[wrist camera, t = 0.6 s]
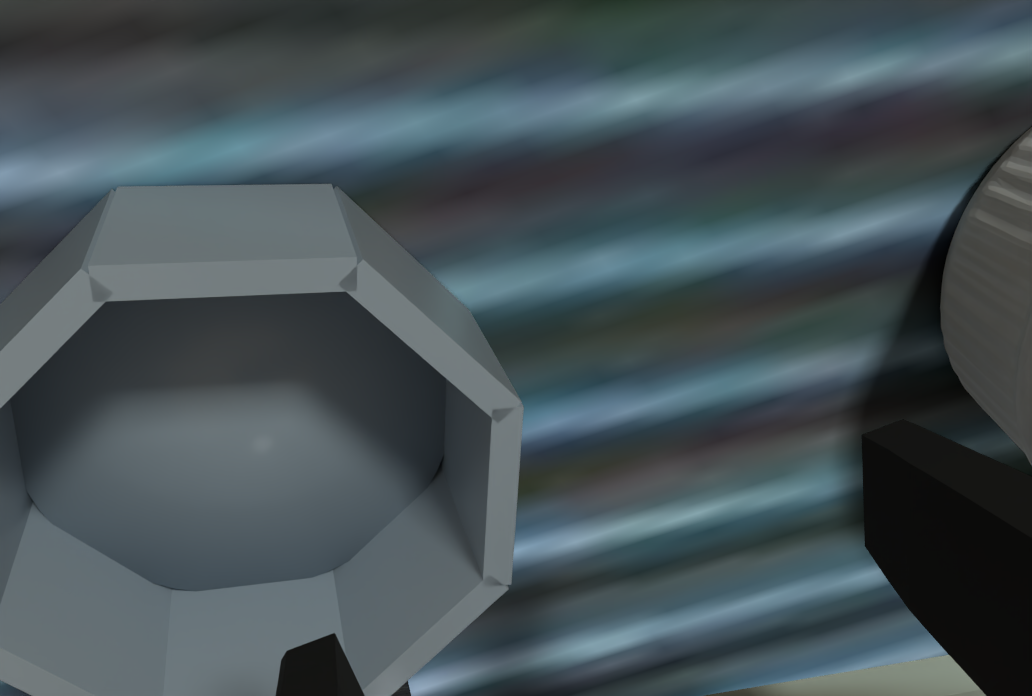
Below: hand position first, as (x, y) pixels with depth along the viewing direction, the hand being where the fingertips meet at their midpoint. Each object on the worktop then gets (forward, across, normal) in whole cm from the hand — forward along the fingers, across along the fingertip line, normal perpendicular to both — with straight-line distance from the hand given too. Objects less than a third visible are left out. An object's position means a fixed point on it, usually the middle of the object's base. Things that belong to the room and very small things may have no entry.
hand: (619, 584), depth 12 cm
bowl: (+10, +5, +2) cm, 12 cm away
